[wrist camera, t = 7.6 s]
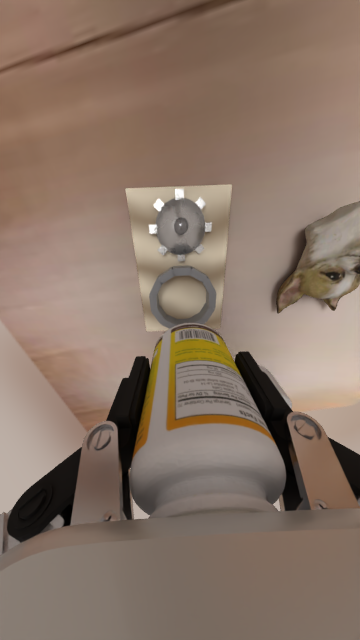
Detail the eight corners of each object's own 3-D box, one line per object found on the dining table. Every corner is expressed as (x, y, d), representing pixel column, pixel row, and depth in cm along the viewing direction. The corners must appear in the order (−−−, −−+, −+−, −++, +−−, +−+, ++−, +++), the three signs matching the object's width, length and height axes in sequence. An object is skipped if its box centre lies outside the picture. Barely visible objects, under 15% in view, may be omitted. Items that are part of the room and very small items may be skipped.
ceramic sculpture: (467, 186, 14) (375, 328, 22) (366, 202, 22) (323, 303, 29) (346, 193, 14) (296, 332, 22) (287, 206, 22) (265, 306, 29)
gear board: (128, 192, 21) (125, 188, 19) (228, 188, 21) (232, 184, 19) (147, 327, 29) (146, 331, 28) (218, 324, 29) (220, 328, 28)
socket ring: (148, 266, 23) (145, 269, 21) (214, 264, 23) (218, 266, 21) (155, 325, 28) (153, 332, 25) (210, 322, 28) (214, 329, 25)
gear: (146, 192, 20) (140, 181, 16) (211, 190, 20) (219, 178, 16) (153, 261, 23) (149, 265, 19) (208, 259, 23) (214, 262, 20)
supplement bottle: (179, 385, 14) (184, 638, 5) (140, 342, 12) (34, 634, 3) (236, 358, 13) (374, 624, 4) (203, 305, 11) (335, 604, 2)
